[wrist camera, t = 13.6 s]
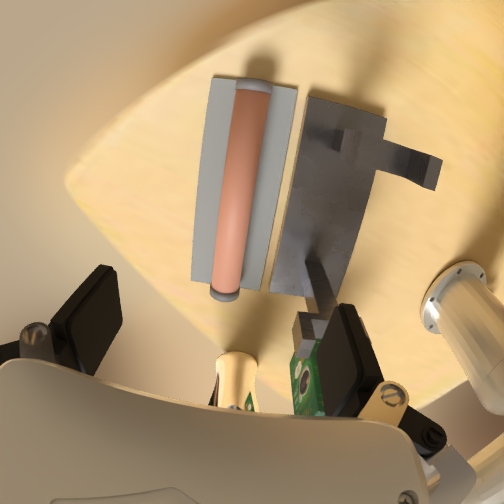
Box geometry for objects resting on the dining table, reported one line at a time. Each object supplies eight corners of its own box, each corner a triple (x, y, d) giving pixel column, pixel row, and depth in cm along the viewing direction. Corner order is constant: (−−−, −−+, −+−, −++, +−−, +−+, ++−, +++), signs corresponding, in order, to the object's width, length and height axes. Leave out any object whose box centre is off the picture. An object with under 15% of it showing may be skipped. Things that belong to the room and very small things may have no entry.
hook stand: (382, 118, 24) (464, 128, 12) (333, 294, 33) (362, 379, 22) (306, 97, 23) (349, 80, 12) (268, 286, 33) (273, 376, 21)
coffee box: (306, 367, 39) (317, 443, 28) (287, 365, 39) (294, 443, 28) (324, 328, 36) (344, 411, 24) (304, 326, 36) (318, 411, 24)
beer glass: (203, 357, 39) (187, 448, 25) (245, 342, 37) (240, 441, 24) (228, 382, 41) (221, 467, 28) (268, 370, 40) (270, 460, 26)
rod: (237, 81, 23) (235, 76, 20) (271, 85, 23) (274, 81, 20) (211, 283, 32) (208, 299, 30) (239, 286, 33) (238, 303, 30)
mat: (297, 90, 23) (297, 89, 23) (259, 288, 33) (259, 290, 33) (212, 78, 23) (211, 77, 22) (191, 278, 33) (190, 280, 32)
